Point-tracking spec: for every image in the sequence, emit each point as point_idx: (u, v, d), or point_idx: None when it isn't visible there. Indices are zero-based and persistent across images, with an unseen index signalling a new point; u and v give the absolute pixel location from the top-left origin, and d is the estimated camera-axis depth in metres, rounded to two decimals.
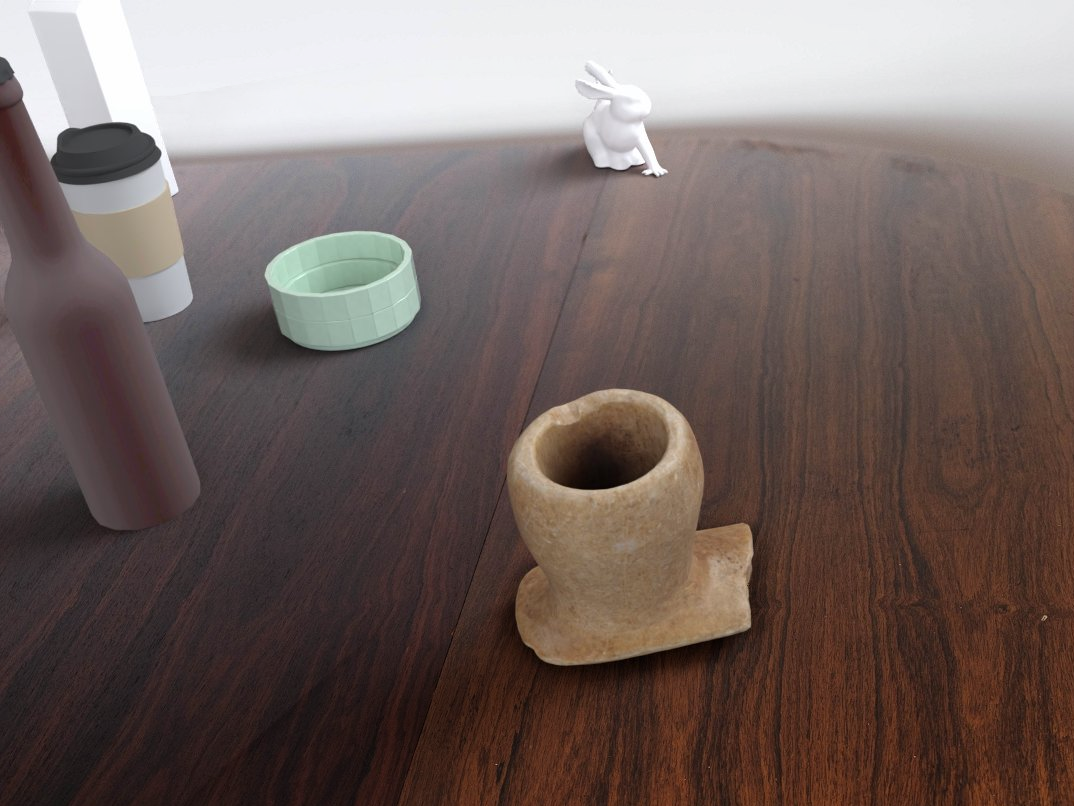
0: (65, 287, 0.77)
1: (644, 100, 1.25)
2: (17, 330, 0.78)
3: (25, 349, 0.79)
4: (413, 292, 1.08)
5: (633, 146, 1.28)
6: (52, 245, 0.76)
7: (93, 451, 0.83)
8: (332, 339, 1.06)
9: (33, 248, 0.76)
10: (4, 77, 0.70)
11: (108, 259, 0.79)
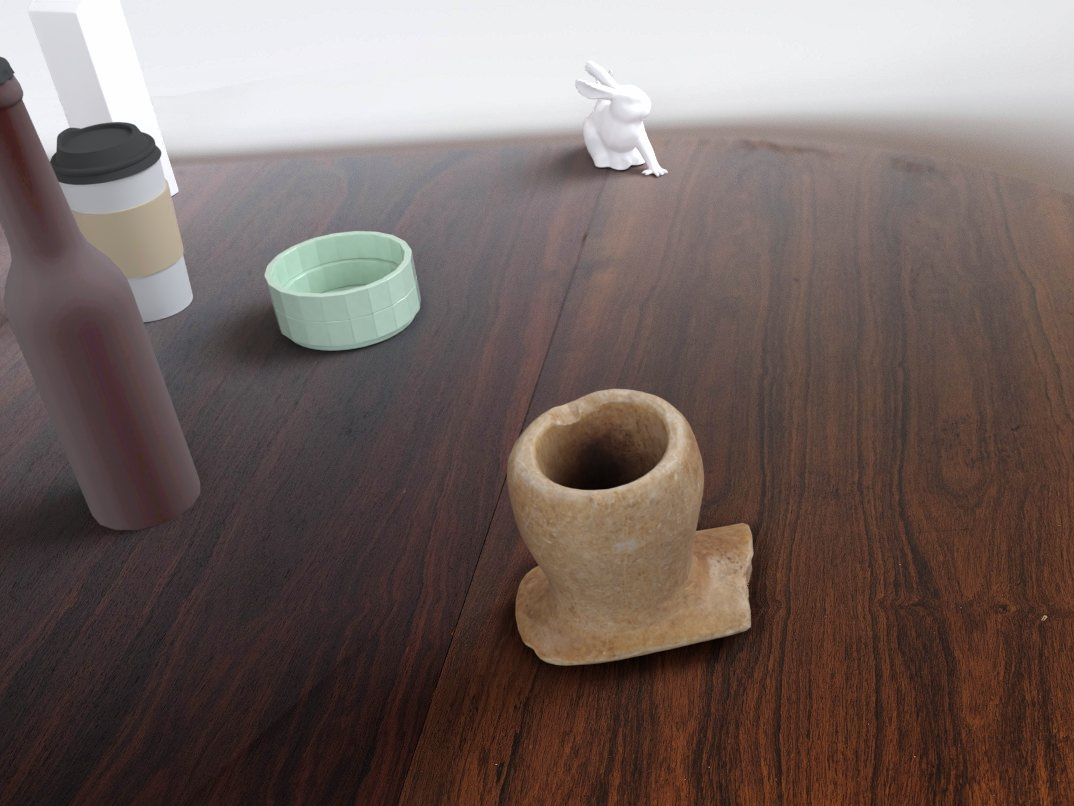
0: (65, 287, 0.77)
1: (644, 100, 1.25)
2: (17, 330, 0.78)
3: (25, 349, 0.79)
4: (413, 292, 1.08)
5: (633, 146, 1.28)
6: (52, 245, 0.76)
7: (93, 451, 0.83)
8: (332, 339, 1.06)
9: (33, 248, 0.76)
10: (4, 77, 0.70)
11: (108, 259, 0.79)
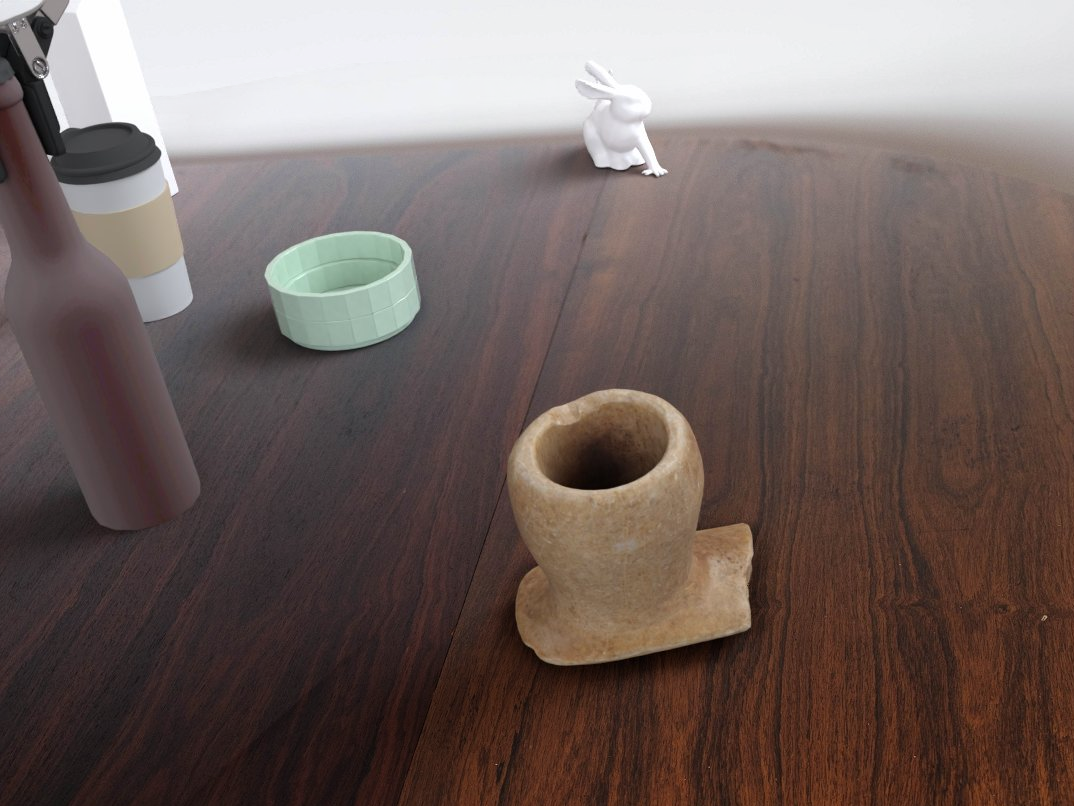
0: (66, 287, 0.77)
1: (644, 100, 1.25)
2: (17, 330, 0.78)
3: (25, 349, 0.79)
4: (413, 292, 1.08)
5: (633, 146, 1.28)
6: (52, 245, 0.76)
7: (93, 451, 0.83)
8: (332, 339, 1.06)
9: (33, 248, 0.76)
10: (5, 77, 0.70)
11: (108, 259, 0.79)
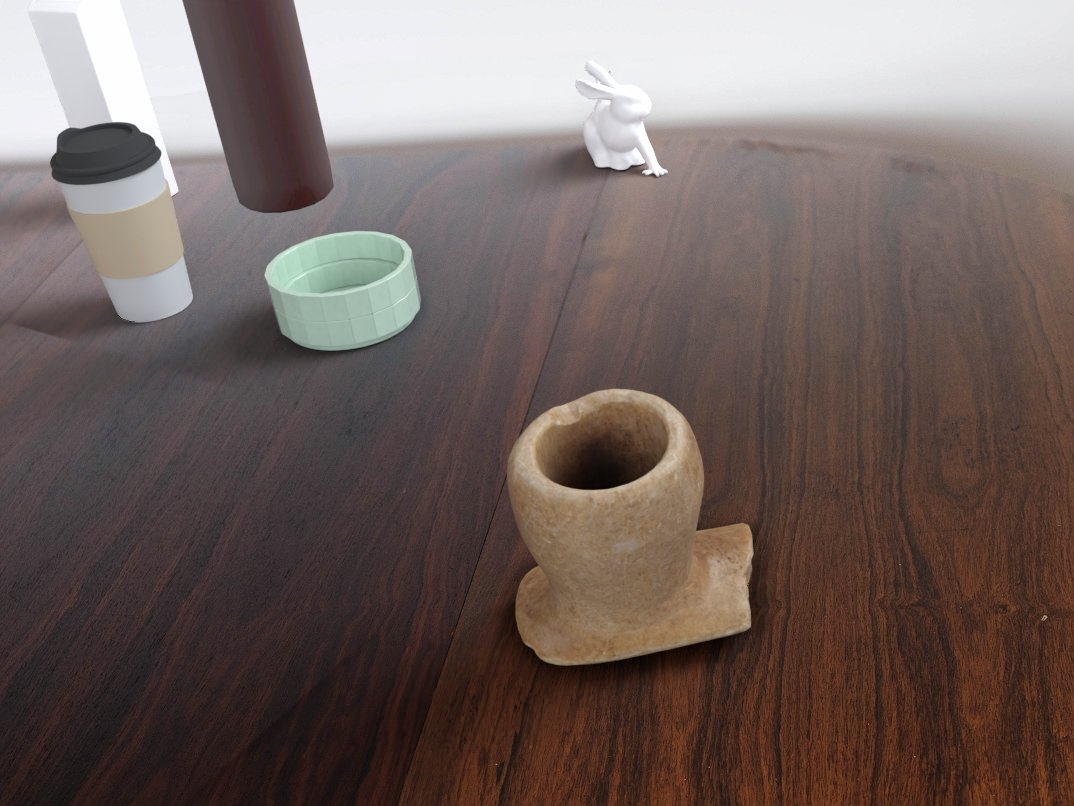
0: None
1: (644, 100, 1.25)
2: None
3: None
4: (413, 292, 1.08)
5: (633, 146, 1.28)
6: None
7: (243, 105, 0.91)
8: (332, 339, 1.06)
9: None
10: None
11: None
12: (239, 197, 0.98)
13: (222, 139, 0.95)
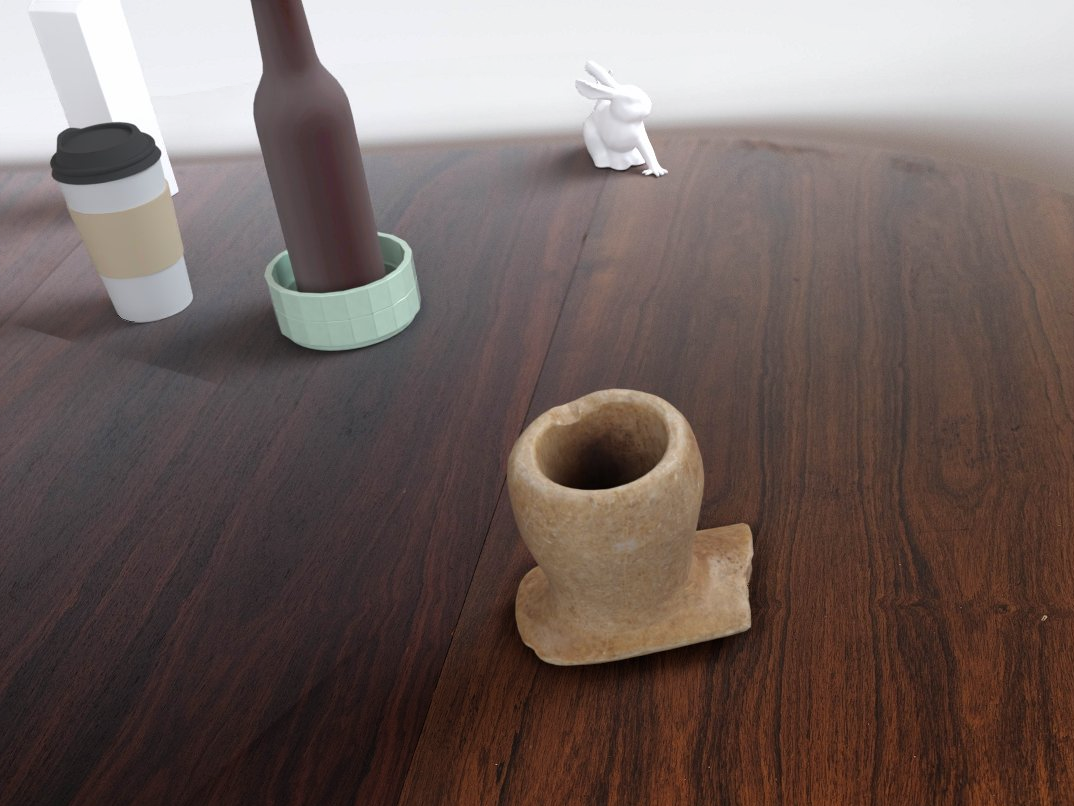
0: (308, 96, 0.96)
1: (644, 100, 1.25)
2: (264, 134, 0.98)
3: (269, 151, 0.99)
4: (413, 292, 1.08)
5: (633, 146, 1.28)
6: (299, 61, 0.95)
7: (315, 241, 1.03)
8: (332, 339, 1.06)
9: (284, 63, 0.95)
10: None
11: (335, 79, 0.99)
12: None
13: (293, 267, 1.06)
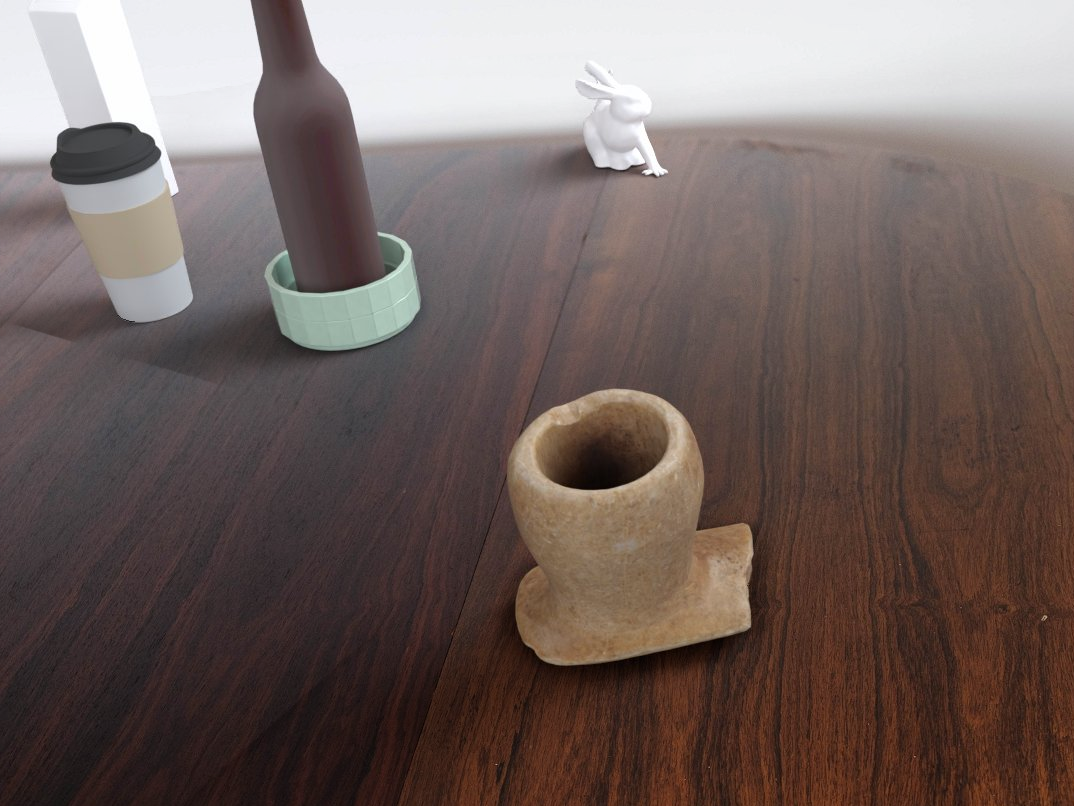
0: (308, 96, 0.96)
1: (644, 100, 1.25)
2: (264, 134, 0.98)
3: (269, 151, 0.99)
4: (413, 292, 1.08)
5: (633, 146, 1.28)
6: (299, 61, 0.95)
7: (315, 241, 1.03)
8: (332, 339, 1.06)
9: (284, 63, 0.95)
10: None
11: (335, 79, 0.99)
12: None
13: (293, 267, 1.06)
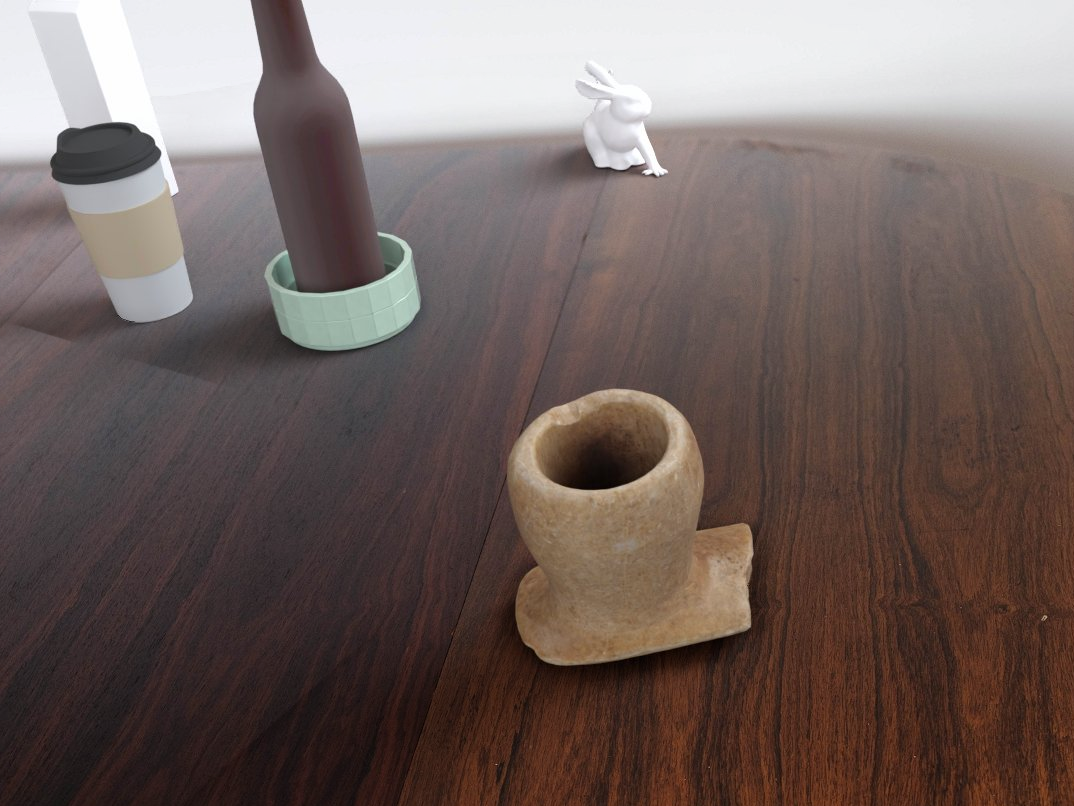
0: (308, 96, 0.96)
1: (644, 100, 1.25)
2: (264, 134, 0.98)
3: (269, 151, 0.99)
4: (413, 292, 1.08)
5: (633, 146, 1.28)
6: (299, 61, 0.95)
7: (315, 241, 1.03)
8: (332, 339, 1.06)
9: (284, 63, 0.95)
10: None
11: (335, 79, 0.99)
12: None
13: (293, 267, 1.06)
